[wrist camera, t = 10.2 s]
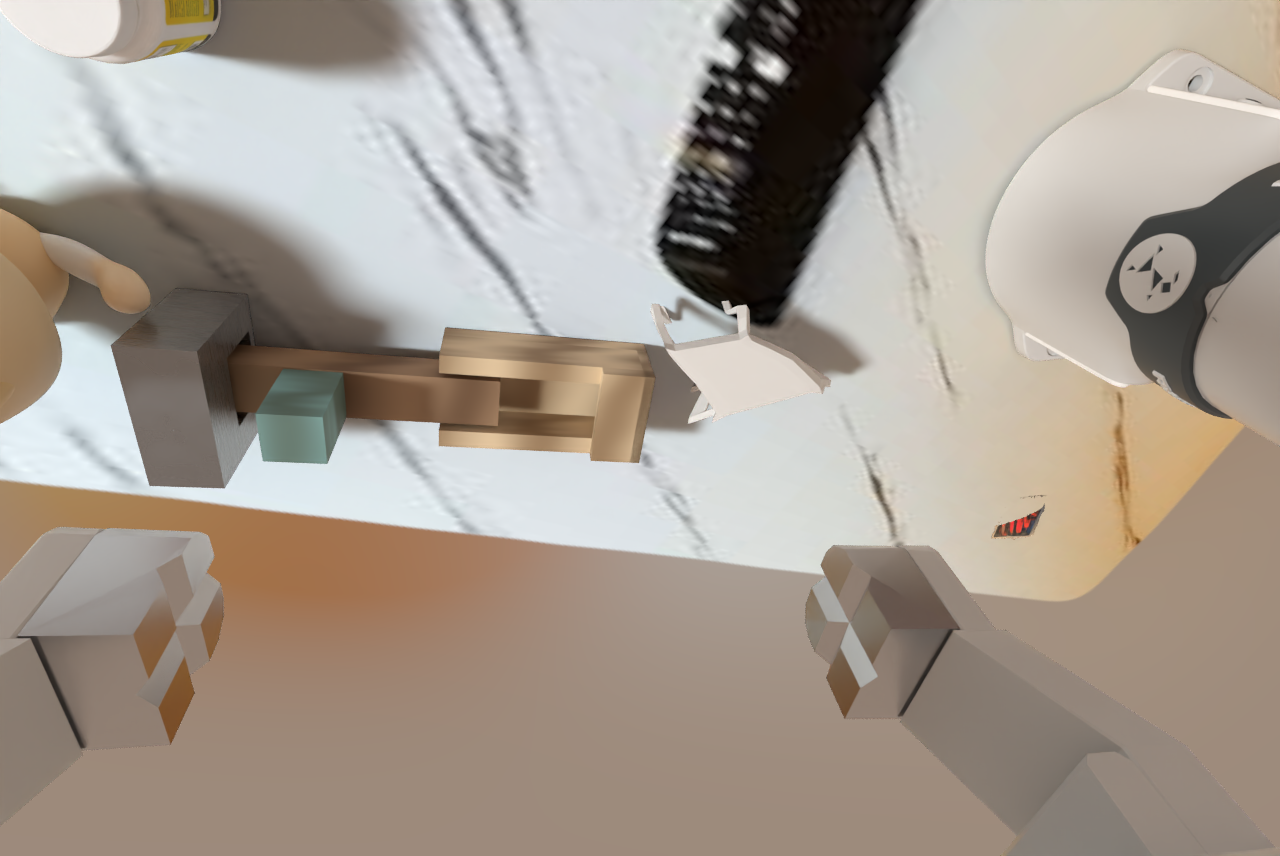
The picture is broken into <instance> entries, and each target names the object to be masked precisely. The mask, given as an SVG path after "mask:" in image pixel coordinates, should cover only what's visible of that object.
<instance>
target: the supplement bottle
mask: <svg viewBox="0 0 1280 856" xmlns="http://www.w3.org/2000/svg"><path fill="white" fill-rule="evenodd" d="M0 11H1V12H2V13H3V15H4V16H5V17H6V18H7V19H8V21H9V22H10V23H11V24H12V25H13V26H14V27H15V28H16V29H17V30H18V31H20V32H21V33H22V34H23V35H24V36H26V37H27V38H28V39H30V40H31V41H33V42H34V43H36V44H38V45H39V46H41V47H43V48H45V49H47V50H49V51H52V52H54V53H57V54H60V55H64V56H68V57H74V58H90V59H93V60H96V61H100V62H106V63H115V64H125V63H131V62H136V61H141V60H145V59H150V58H156V57H160V56H166V55H170V54H175V53H180V52H185V51H189V50H193V49H196V48H198V47H200V46H202V45H204V44H205V43H206V42H208V41H209V40H210V39H211V38H212V36H213V35H214V33H215V32H216V30H217V28H218V25H219V22H220V17H221V0H0Z"/></svg>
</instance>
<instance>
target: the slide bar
mask: <svg viewBox="0 0 1280 856" xmlns="http://www.w3.org/2000/svg"><path fill="white" fill-rule="evenodd" d="M227 363H228V368H229V374H230V380H231V385H232V391H233V396H234V402H235V407H236V412H251V413H255V415H256V421H257V427H258V434H259V440H260V446H261V452H262V458H263V461H270V462H294V463H319V464H327V463H328V461H329V458H330V456H331V453H332V451H333V449H334V446H335V444H336V441H337V439H338V436H339V434H340V431H341V429H342V426H343V424H344V421H345V419H346V418H361V419H379V420H397V421H415V422H434V423H452V424H470V425H489V426H498V415H499V398H500V380H501V377H489V376H475V375H461V374H446V373H439V359H428V358H415V357H401V356H387V355H374V354H360V353H347V352H333V351H319V350H306V349H292V348H279V347H265V346H251V345H237V346H236V347H235V349H234V350H233V351H232V353H231V354H230V355H229V356H228V358H227Z"/></svg>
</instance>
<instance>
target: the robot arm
mask: <svg viewBox="0 0 1280 856" xmlns="http://www.w3.org/2000/svg"><path fill="white" fill-rule="evenodd" d="M1191 79H1192V81H1191V84H1190V85H1189V86H1188V83H1189V81H1190V80H1191ZM985 261H986V274H987V280H988V283H989V287H990V289H991V292H992V294H993V296H994V298H995V300H996V301H997V303H998V304H999V306H1000V307H1001V308H1002V309H1003V310H1004V312H1005V313H1006V314H1007V315H1008V317H1009V318H1010V320H1011V322H1012V324H1013V334H1014V341H1015V346H1016V349H1017V351H1018V353H1019V354H1020V355H1022V356H1023V357H1025V358H1027V359H1029V360H1031V361H1046V360H1055V359H1065V358H1066V359H1068V360H1069V361H1071V362H1073V363H1075V364H1076V365H1078V366H1080V367H1082V368H1083V369H1085V370H1087V371H1089V372H1090V373H1092V374H1094V375H1096V376H1098V377H1099V378H1101V379H1103V380H1105V381H1106V382H1108V383H1110V384H1112V385H1115V386H1118V387H1122V388H1125V387H1127V386H1129V385H1145V384H1150V383H1156V384H1158V385H1159V386H1161V387H1162V388H1163V389H1164V390H1165V391H1166V392H1168V393H1169V394H1170V395H1172V396H1173V397H1175V398H1177V399H1178V400H1180V401H1182V402H1184V403H1186V404H1188V405H1190V406H1194V407H1196V408H1199V409H1200V410H1202V411H1204V412H1206V413H1209V414H1211V415H1213V416H1217V417H1221V418H1228V419H1235V420H1236V421H1238V422H1240V423H1241V424H1243V425H1245V426H1246V427H1248V428H1250V429H1251V430H1253V431H1254V432H1256V433H1258V434H1260V435H1261V436H1263V437H1264V438H1266V439H1268V440H1269V441H1271V442H1272V443H1274V444H1276V445H1277V446H1279V447H1280V100H1279V99H1277V98H1275V97H1274V96H1272V95H1270V94H1268V93H1267V92H1265V91H1263V90H1261V89H1260V88H1258V87H1256V86H1254V85H1253V84H1251V83H1249V82H1247V81H1246V80H1244V79H1242V78H1240V77H1239V76H1237V75H1235V74H1233V73H1232V72H1230V71H1228V70H1227V69H1225V68H1223V67H1221V66H1220V65H1218V64H1216V63H1214V62H1213V61H1211V60H1209V59H1207V58H1206V57H1204V56H1202V55H1200V54H1198V53H1195V52H1191V51H1188V50H1184V49H1176V50H1173V51H1171V52H1169V53H1167V54H1166V55H1164V56H1163V57H1161V58H1160V59H1159V60H1157V61H1156V62H1155V63H1154V64H1153V65H1151V66H1150V67H1149V68H1148V69H1147V70H1146V71H1145V72H1144V73H1143V74H1142V75H1140V76H1139V77H1138V78H1137V79H1136V80H1135V81H1134V82H1133V83H1132V84H1131V85H1130V86H1129V87H1128V88H1127V89H1125V90H1124V91H1122V92H1120V93H1119V94H1117V95H1115V96H1113V97H1112V98H1110V99H1108V100H1105V101H1103V102H1101V103H1099V104H1097V105H1095V106H1093V107H1091V108H1089V109H1087V110H1085V111H1084V112H1082V113H1080V114H1079V115H1077V116H1075V117H1074V118H1072V119H1071V120H1069V121H1068V122H1067V123H1065V124H1064V125H1063V126H1061V127H1060V128H1059V129H1057V130H1056V131H1055V132H1054V133H1053V134H1051V135H1050V136H1049V137H1048V138H1047V139H1046V140H1045V141H1044V142H1043V143H1042V144H1041V145H1040V146H1039V147H1038V148H1037V149H1036V150H1035V151H1034V152H1033V153H1032V154H1031V155H1030V157H1029V158H1028V159H1027V160H1026V162H1025V163H1024V164H1023V165H1022V167H1021V168H1020V169H1019V171H1018V172H1017V173H1016V175H1015V176H1014V178H1013V179H1012V181H1011V183H1010V184H1009V186H1008V188H1007V189H1006V191H1005V193H1004V195H1003V197H1002V199H1001V201H1000V203H999V205H998V207H997V210H996V212H995V215H994V217H993V220H992V223H991V227H990V231H989V234H988V239H987V246H986V257H985ZM213 559H214V553H213V550H212V546H211V543H210V539H209V536H207V535H205V534H203V533H201V532H186V531H162V530H137V529H113V528H108V529H91V528H70V527H57V528H55V529H53V530H50V531H48V532H46V533H44V534H43V535H42V536H41V537H40V538H39V539H38V540H37V541H36V542H35V544H34V545H33V546H32V547H31V548H30V549H29V550H28V552H27V553H26V554H25V555H24V556H23V557H22V558H21V560H20V561H19V562H18V563H17V564H16V565H15V566H14V567H13V569H12V570H11V571H10V572H9V573H8V574H7V575H6V576H5V578H4V579H3V580H2V581H1V582H0V826H1V825H3V824H4V823H5V822H6V821H7V820H8V819H10V818H11V817H12V816H13V815H14V814H15V813H16V812H18V811H19V810H20V809H21V808H22V807H23V806H25V805H26V804H27V803H28V802H29V801H30V800H32V799H33V798H34V797H35V796H36V795H37V794H39V793H40V792H41V791H42V790H43V789H44V788H45V787H47V786H48V785H49V784H50V783H51V782H52V781H54V780H55V779H56V778H57V777H58V776H59V775H61V774H62V773H63V772H64V771H65V770H66V769H67V768H69V767H70V766H71V765H72V764H73V763H75V762H76V761H77V760H78V759H79V758H80V757H81V756H83V752H82V750H98V749H114V748H128V747H129V748H130V747H146V746H161V745H171V743H172V741H173V739H174V737H175V735H176V732H177V730H178V728H179V726H180V724H181V721H182V720H183V717H184V715H185V713H186V711H187V709H188V707H189V704H190V702H191V700H192V698H193V696H194V694H195V692H194V688H193V685H192V682H191V677H190V675H191V674H193V673H194V672H195V671H196V670H198V669H199V668H201V667H202V666H203V665H205V664H206V663H207V662H209V661H210V659H211V657H212V654H213V652H214V650H215V647H216V645H217V643H218V640H219V636H220V631H221V627H222V622H223V617H224V598H223V593H222V588H221V584H220V583H219V582H218V581H216V580H215V579H214V578H213V577H211V576H210V575H209V574H208V573H207V570H208V568H209V566H210V564H211V562H212V560H213ZM821 567H822V569H823V571H824V574H825V576H826V577H824V578H823V579H822V580H821V581H819V582H818V583H817V584H815V585H814V586H813V587H812V588H811V590H810V594H809V596H808V599H807V602H806V608H805V609H806V610H805V624H806V629H807V633H808V638H809V640H810V642H811V645H812V647H813V649H814V652H816V653H817V654H818V655H819V656H820V657H822V658H823V659H824V660H825V661H827V662H828V663H829V664H830V667H829V670H828V674H827V677H826V679H827V681H828V683H829V685H830V688H831V690H832V692H833V694H834V696H835V699H836V701H837V703H838V705H839V708H840V710H841V712H842V714H843V716H844V719H901V720H900V722H901V723H902V724H903V725H904V726H905V727H906V728H907V729H908V730H909V731H910V732H911V733H912V734H913V735H914V736H915V737H916V738H917V739H918V740H919V741H920V742H921V743H922V744H923V745H924V746H925V747H926V748H927V749H928V750H929V751H930V752H931V753H932V754H933V755H934V756H936V757H937V758H938V759H939V760H940V761H941V762H942V763H943V764H944V765H945V766H946V767H947V768H948V769H949V770H950V771H951V772H952V773H953V774H954V775H955V776H956V777H957V778H958V779H959V780H960V781H961V782H962V783H963V784H964V785H965V786H966V787H967V788H968V789H969V790H970V791H971V792H972V793H973V794H975V796H976V797H978V798H979V799H980V800H981V801H982V802H983V803H984V804H985V805H986V806H987V807H988V808H989V809H990V810H991V811H992V812H993V813H994V814H995V815H996V816H997V817H998V818H999V819H1000V820H1001V821H1002V822H1003V823H1004V824H1005V825H1006V826H1007V827H1008V828H1009V829H1010V830H1011V831H1012V832H1013V833H1014V834H1015V835H1016V836H1017V837H1016V838H1015V839H1014V840H1013V841H1012V843H1011V844H1010V845H1009V846H1008V847H1007V848H1006V850H1005V851H1004V852H1003V853H1002V854H1001V855H1000V856H1280V847H1277V848H1276V847H1275V846H1274V845H1273V844H1272V843H1271V842H1270V840H1269V839H1268V838H1267V837H1266V836H1265V835H1264V834H1263V832H1262V831H1261V830H1260V829H1259V828H1258V827H1257V826H1256V824H1255V823H1254V822H1253V821H1252V820H1251V819H1250V818H1249V816H1248V815H1247V814H1246V813H1245V812H1244V811H1243V810H1242V808H1241V807H1240V806H1239V805H1238V804H1237V803H1236V802H1235V801H1234V799H1233V798H1232V797H1231V796H1230V795H1229V794H1228V793H1227V791H1226V790H1225V789H1224V788H1223V787H1222V786H1221V785H1220V783H1219V782H1218V781H1217V780H1216V779H1215V778H1214V777H1213V775H1212V774H1211V773H1210V772H1209V771H1208V770H1207V769H1206V767H1204V765H1203V764H1202V763H1201V762H1200V761H1199V759H1198V758H1197V757H1196V756H1195V755H1194V754H1193V753H1192V751H1190V749H1189V748H1188V747H1187V746H1186V745H1185V744H1183V743H1181V742H1180V741H1178V740H1177V739H1175V738H1174V737H1172V736H1171V735H1169V734H1167V733H1166V732H1164V731H1163V730H1161V729H1159V728H1158V727H1156V726H1155V725H1153V724H1152V723H1150V722H1149V721H1147V720H1146V719H1144V718H1142V717H1141V716H1139V715H1138V714H1136V713H1135V712H1133V711H1131V710H1130V709H1128V708H1126V707H1125V706H1124V705H1122V704H1121V703H1119V702H1117V701H1116V700H1114V699H1113V698H1111V697H1109V696H1108V695H1106V694H1105V693H1103V692H1102V691H1100V690H1099V689H1097V688H1095V687H1094V686H1093V685H1091V684H1089V683H1088V682H1086V681H1085V680H1083V679H1082V678H1080V677H1078V676H1077V675H1075V674H1074V673H1072V672H1071V671H1069V670H1067V669H1066V668H1064V667H1063V666H1061V665H1059V664H1058V663H1057V662H1055V661H1054V660H1052V659H1050V658H1049V657H1047V656H1046V655H1044V654H1043V653H1041V652H1039V651H1038V650H1036V649H1035V648H1033V647H1032V646H1030V645H1029V644H1027V643H1025V642H1023V641H1022V640H1021V639H1019V638H1018V637H1016V636H1014V635H1013V634H1011V633H1010V632H1008V631H1007V630H996V629H995V627H994V626H993V625H992V623H991V622H990V621H989V619H988V618H987V617H986V615H985V614H984V613H983V611H982V610H981V609H980V607H979V606H978V605H977V603H976V602H975V601H974V599H973V598H972V597H971V595H970V594H969V593H968V591H967V590H966V589H965V587H964V586H963V585H962V583H961V582H960V581H959V579H958V578H957V577H956V575H955V574H954V573H953V571H952V570H951V569H950V567H949V566H948V565H947V563H946V562H945V560H944V559H943V558H942V556H941V555H940V554H939V552H937V551H936V550H935V549H933V548H931V547H930V546H853V545H833V546H832V547H831V548H830V549H829V550H828V551H827V552H826V554H825V556H824V559H823V561H822V563H821Z"/></svg>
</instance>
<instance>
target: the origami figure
mask: <svg viewBox="0 0 1280 856" xmlns="http://www.w3.org/2000/svg"><path fill="white" fill-rule="evenodd" d="M722 304H723V307H724V310H725V312H726V313H727V314H728V315H729V314H736V313H737V320H738V332H739V333H736V334H730V335H725V336H719V337H713V338H708V339H702V340H696V341H691V342H685V343H679V344H675V343H674V342H673V340H672V339H671V337H670V336H669V334H668V331H667V329H666V327H665V325H664V323H665V324H670V323H672V322H671V319H670V318H669V316H668V314H667V312H666V310H665V308H664V306H660V305H659V304H652V306H651V311H650V312H651V315H652V317H653V320H654V323H655V325H656V328H657V331H658V333H659V334H660V336H661V338H662V340H663V342H664V345H665V348H666V350H667V352H668V353H669V355H670V356H671V357H672V358H673V360H674V361H675V362H676V363H677V364H678V365H679V367H680V368H681V369H682V370H683V371H684V372H685V373H686V374H687V375H688V377H689V378H690V379H691V380H692V381H693V382H694V383H695V384H696V386H694V387H692V388H691V393H692V392H695V391H699V390H700V391H701V394H700V396H699V398H698V400H697V402H696V404H695V406H694V408H693V410H692V412H691V414H690V416H689V421H688V424H689V423H693V422H696V421H699V420H703V419H705V418H707V417H710V416H713V415H714V416H713V421H712V423H713V422H715V421H717V420H719V419H721V418H723V417H725V416H727V415H731V414H735V413H738V412H742V411H746V410H749V409H753V408H757V407H760V406H764V405H768V404H772V403H775V402H779V401H783V400H786V399H790V398H794V397H797V396H801V395H805V394H808V393H812V392H813V393H820V394H823V391H824V388H825V387H830V384H831V380H830V379H829V378H827V377H826V376H824V375H823V374H821V373H820V372H818V371H817V370H815V369H814V368H812V367H811V366H810V365H808V364H807V363H805V362H804V361H802V360H801V359H799V358H798V357H797V356H796V355H794V354H793V353H791V352H789V351H787V350H785V349H783V348H781V347H778V346H776V345H774V344H772V343H770V342H767V341H765V340H763V339H760V338H758V337H756V336H753V335H751V334H750V316H749V309H748V307H747V305H741V306H736V307H734V308H732V306H731V304H730V302H729V301H722ZM709 404H710V405H711V406H712V409H710V410H707V408H708V405H709Z"/></svg>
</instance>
